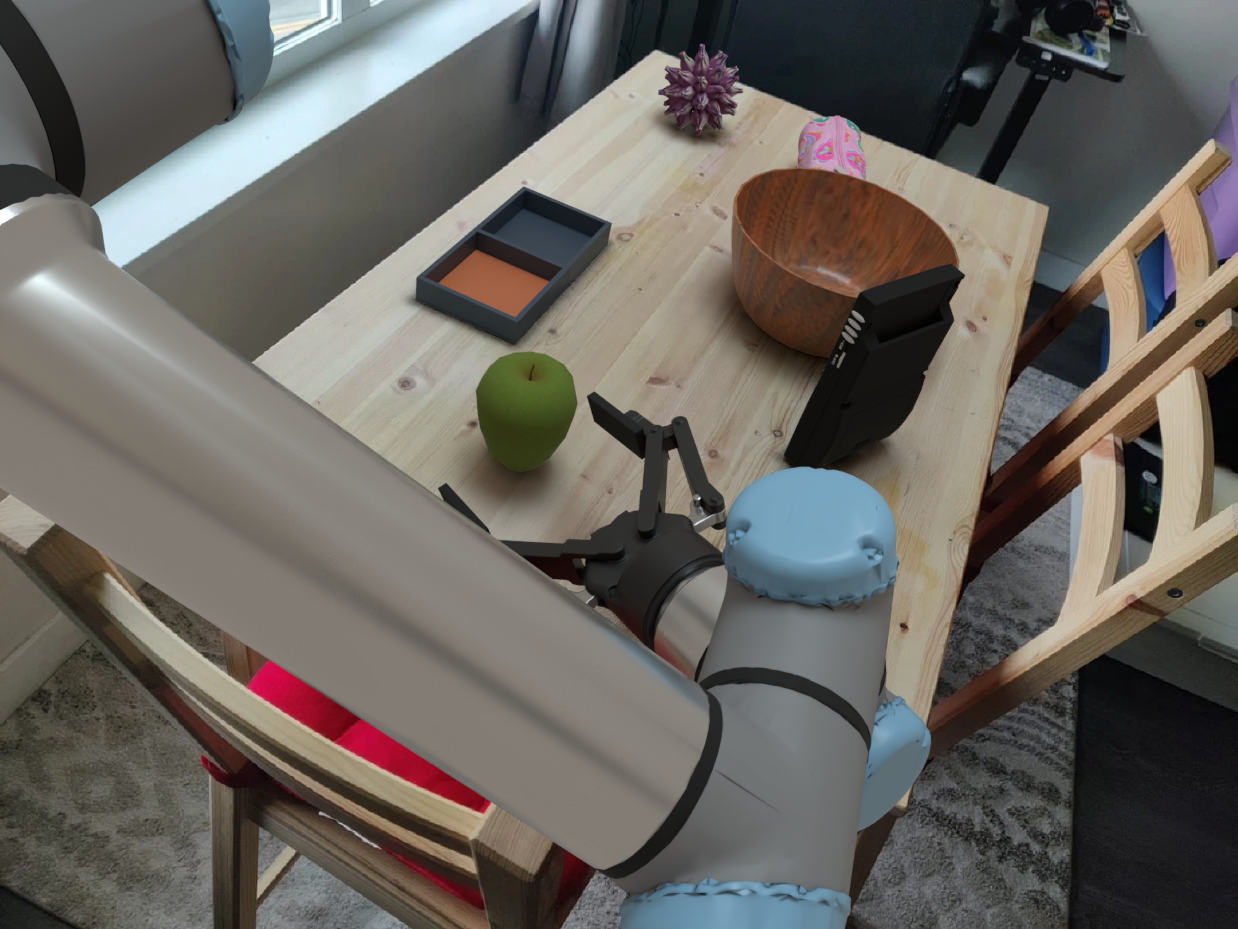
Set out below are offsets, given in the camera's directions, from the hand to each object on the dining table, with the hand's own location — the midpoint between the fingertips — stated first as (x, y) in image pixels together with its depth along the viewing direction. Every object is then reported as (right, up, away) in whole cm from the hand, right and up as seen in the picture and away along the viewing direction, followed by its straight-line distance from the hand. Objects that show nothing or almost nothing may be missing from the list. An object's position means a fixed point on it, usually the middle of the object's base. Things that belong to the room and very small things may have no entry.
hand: (522, 450), depth 70 cm
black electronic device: (+29, 0, +20) cm, 35 cm away
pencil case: (+35, +33, +53) cm, 72 cm away
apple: (-2, -1, +12) cm, 12 cm away
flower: (+18, +47, +62) cm, 80 cm away
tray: (-4, +20, +31) cm, 37 cm away
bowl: (+30, +16, +36) cm, 49 cm away
